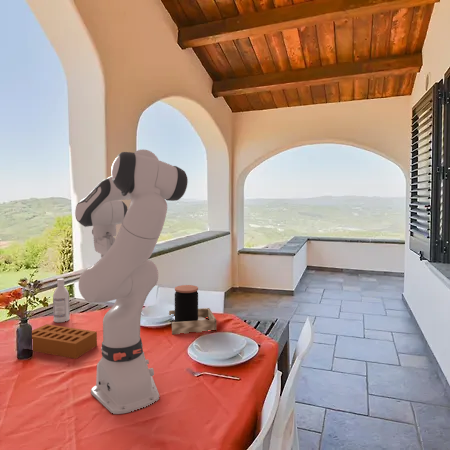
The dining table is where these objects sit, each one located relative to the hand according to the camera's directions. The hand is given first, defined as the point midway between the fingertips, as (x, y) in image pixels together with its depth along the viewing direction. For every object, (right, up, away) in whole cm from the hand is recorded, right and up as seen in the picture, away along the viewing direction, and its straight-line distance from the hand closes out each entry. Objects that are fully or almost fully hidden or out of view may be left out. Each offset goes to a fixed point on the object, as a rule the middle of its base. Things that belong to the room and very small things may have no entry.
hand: (105, 265), depth 139 cm
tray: (+33, -30, +19) cm, 49 cm away
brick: (-16, -32, -5) cm, 36 cm away
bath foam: (-29, -29, +24) cm, 48 cm away
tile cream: (+36, -30, +24) cm, 53 cm away
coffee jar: (+31, -30, +18) cm, 47 cm away
